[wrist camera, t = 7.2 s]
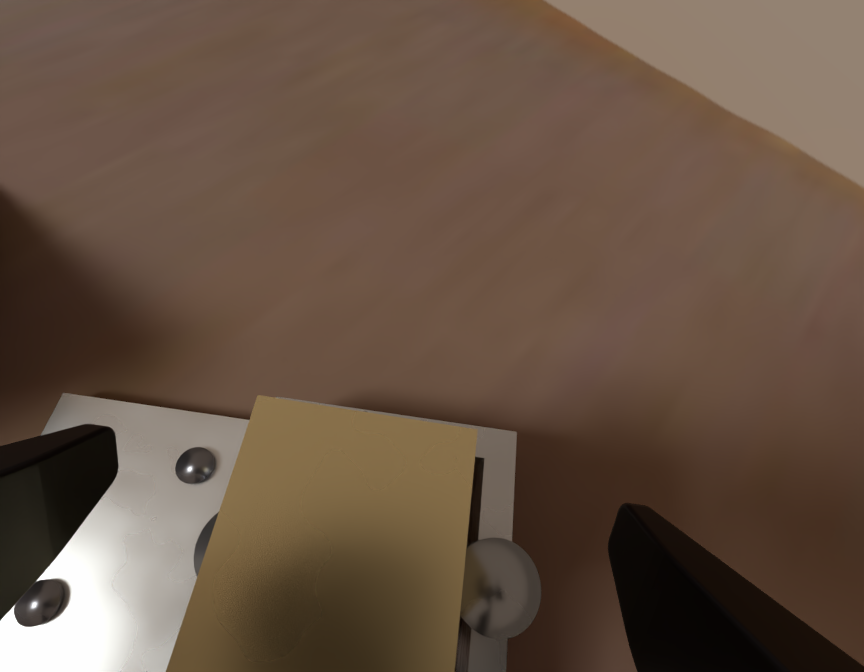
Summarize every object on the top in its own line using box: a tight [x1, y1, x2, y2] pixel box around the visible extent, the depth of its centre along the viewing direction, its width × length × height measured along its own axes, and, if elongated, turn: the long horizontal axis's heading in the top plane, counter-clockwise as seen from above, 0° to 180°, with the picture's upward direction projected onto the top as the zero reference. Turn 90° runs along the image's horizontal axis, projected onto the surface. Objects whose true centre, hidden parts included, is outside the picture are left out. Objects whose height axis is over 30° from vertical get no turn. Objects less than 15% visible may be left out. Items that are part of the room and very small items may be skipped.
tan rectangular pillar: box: [166, 395, 478, 672], centre depth 10 cm, size 4×4×10 cm
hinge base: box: [0, 393, 541, 672], centre depth 13 cm, size 17×9×3 cm, turn 82°
